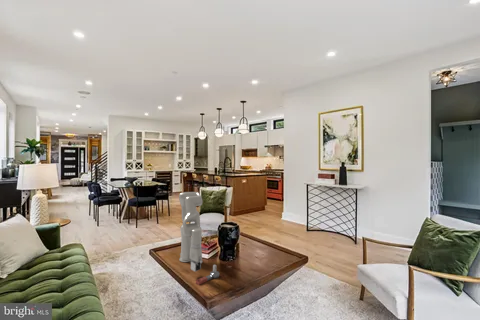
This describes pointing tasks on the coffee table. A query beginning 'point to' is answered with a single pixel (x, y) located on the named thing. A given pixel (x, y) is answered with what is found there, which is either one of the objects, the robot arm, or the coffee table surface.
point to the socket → (194, 265)
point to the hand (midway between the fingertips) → (195, 268)
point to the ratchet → (212, 275)
